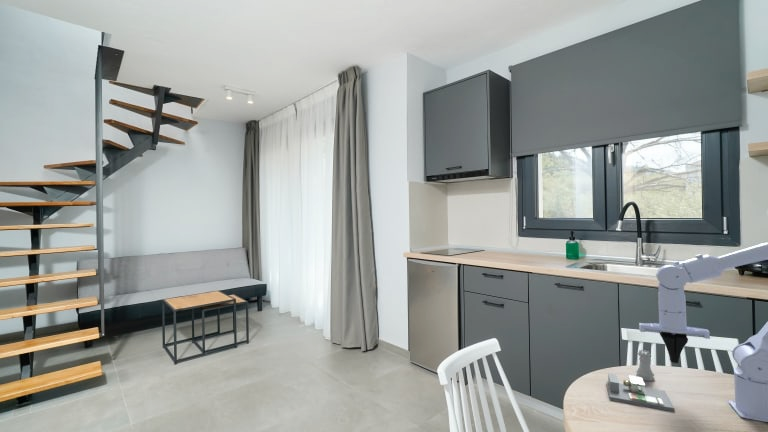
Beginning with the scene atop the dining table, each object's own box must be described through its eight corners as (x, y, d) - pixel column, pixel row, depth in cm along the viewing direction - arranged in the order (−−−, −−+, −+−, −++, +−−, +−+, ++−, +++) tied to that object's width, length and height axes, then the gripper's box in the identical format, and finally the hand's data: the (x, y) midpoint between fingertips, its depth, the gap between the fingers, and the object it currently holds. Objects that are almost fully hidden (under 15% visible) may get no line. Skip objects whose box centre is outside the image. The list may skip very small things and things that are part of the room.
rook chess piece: (641, 381, 103) (640, 354, 103) (632, 374, 107) (632, 348, 107) (658, 382, 102) (657, 354, 102) (648, 375, 107) (647, 348, 107)
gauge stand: (665, 393, 95) (664, 381, 95) (674, 411, 87) (674, 398, 87) (606, 383, 102) (606, 372, 102) (609, 399, 93) (609, 387, 93)
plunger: (642, 386, 97) (641, 377, 97) (647, 399, 90) (647, 390, 90) (622, 383, 99) (622, 374, 100) (626, 396, 92) (626, 386, 92)
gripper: (702, 309, 94) (704, 360, 94) (636, 304, 101) (638, 352, 101) (711, 316, 88) (714, 370, 88) (640, 310, 95) (642, 361, 94)
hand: (674, 361), depth 94 cm, fingers closed
